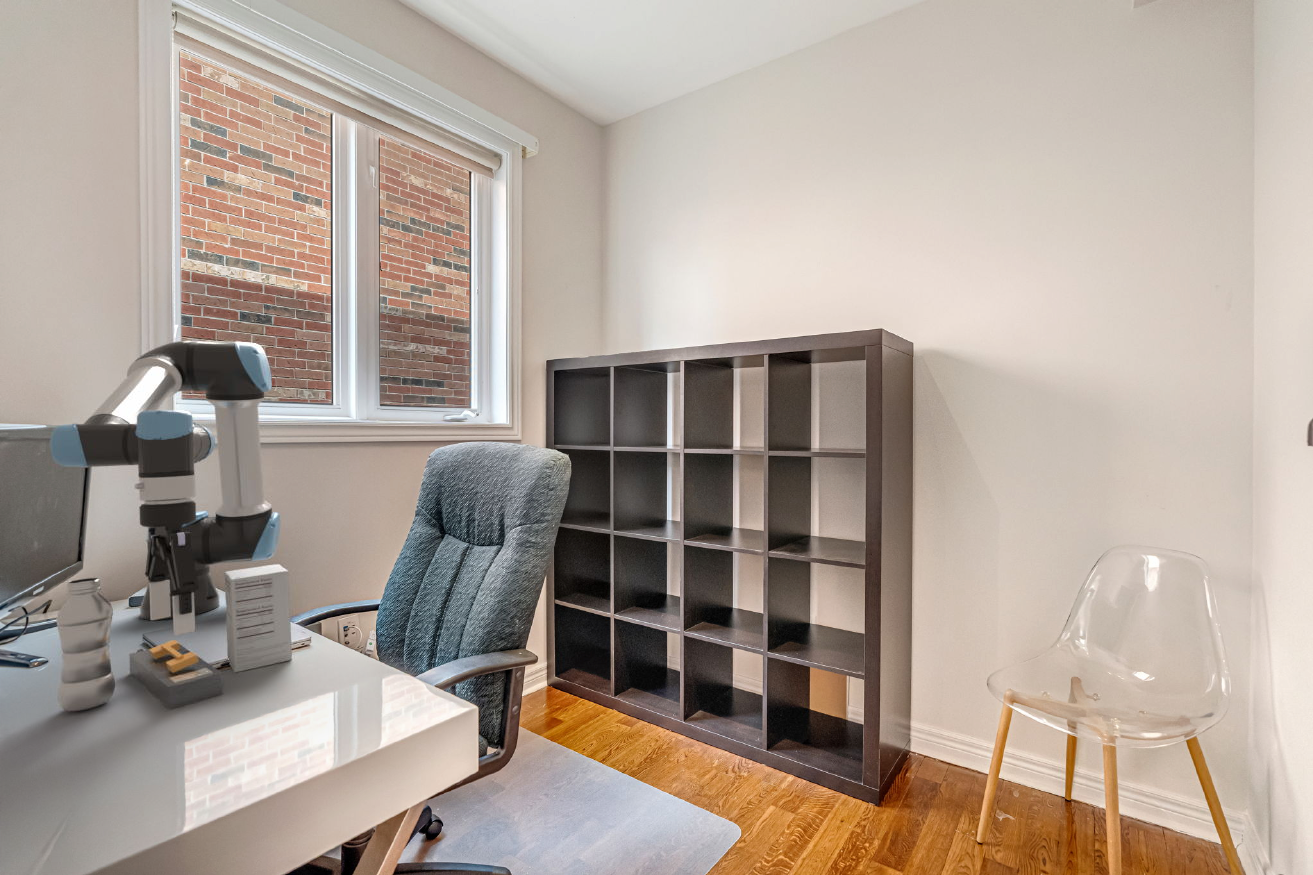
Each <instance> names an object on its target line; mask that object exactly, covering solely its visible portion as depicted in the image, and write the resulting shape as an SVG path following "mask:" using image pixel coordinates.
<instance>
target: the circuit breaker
mask: <svg viewBox="0 0 1313 875" xmlns="http://www.w3.org/2000/svg"><path fill="white" fill-rule="evenodd" d="M179 646H180V649H179V650H177V652H179V653H180V654H182V655H184V654H187V653H189V652H191V651H190V650H189V649H188V648H186V647H184V646H183V645H182V644H180V643H179ZM149 649H150V648H149ZM149 649H142V648H140V649H137V650H136V652H131V653H129V655H128V656H129V674H130V675H131V676H132V677H133V678H134V679H135V680H137V682H139V683H140V684H141V685H142V686H143V687H144V688H145V689H146V690H147V691H148V692H150V693H151V694H152V695H153V697H155V698H156V699H157V700H158V701H159V702H160V703H161V704H162V705H164V706H165V708H167V709H168V710H169V711H171V710H174V709H178V708H181V707H183V706H184V707H185V706H187V705H191V704H194V703H197V702H200V701H203V700H207V699H210V698H214V697H216V696H217V697H218V696H221V695H223V694H224V692H223V672H222V671H220V670H219V669H217V668H215V667H214V666H213V665H212V664H209V663H208V662H207V661H205V659H203V658H201V657H199V656H198V655H197V658H198V661H199V662H197V663H194V664H192V665H190V666H187V667H185V668H183V669H181V670H178V671H176V672H174V673H172V672H171V671H170V670H169V669H168V668H167V665H166V662H168V661H170V660H172V659H175V657H173V656H172V655H170V654H167V655H165V656H162V657H160V658H157V659H155V658H153V657H152V656H151V654H150V651H149Z"/></svg>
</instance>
